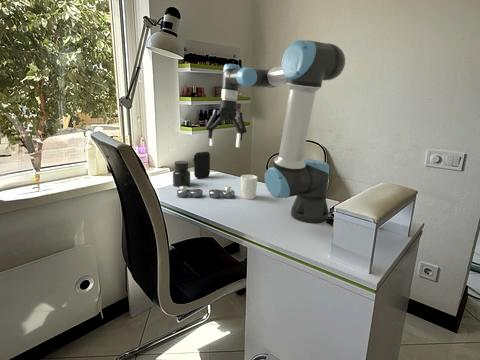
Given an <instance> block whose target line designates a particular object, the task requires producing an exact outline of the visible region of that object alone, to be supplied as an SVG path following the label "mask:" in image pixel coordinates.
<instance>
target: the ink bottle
mask: <svg viewBox="0 0 480 360" xmlns="http://www.w3.org/2000/svg"><path fill="white" fill-rule="evenodd" d="M172 184H173V186H175V187H178V188H180V186H187V187H188V186H190V185H191V171H190V170H189V161H186V160H177V161H174V170H173V172H172Z"/></svg>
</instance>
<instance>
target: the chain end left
mask: <svg viewBox="0 0 480 360" xmlns="http://www.w3.org/2000/svg"><path fill="white" fill-rule="evenodd" d="M187 187H188V186H180V187H179V189H177V190H176V197H178V198H179V199H181V198H182V199H183V198H192V199H201V198H202V197H203V196H204V194H203V193H204V191H203V189H199V188H192V189H188V188H187Z"/></svg>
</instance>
